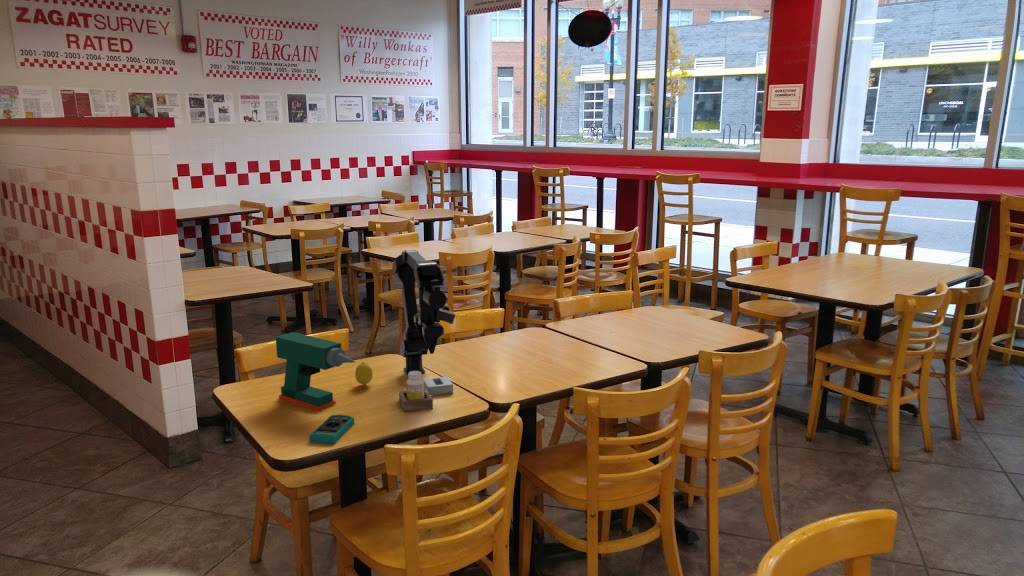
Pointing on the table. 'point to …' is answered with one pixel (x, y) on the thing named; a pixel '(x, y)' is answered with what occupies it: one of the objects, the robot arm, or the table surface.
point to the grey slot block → (438, 385)
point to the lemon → (363, 373)
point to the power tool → (307, 368)
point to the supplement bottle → (415, 386)
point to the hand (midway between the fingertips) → (429, 349)
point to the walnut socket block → (415, 402)
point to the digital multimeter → (331, 429)
